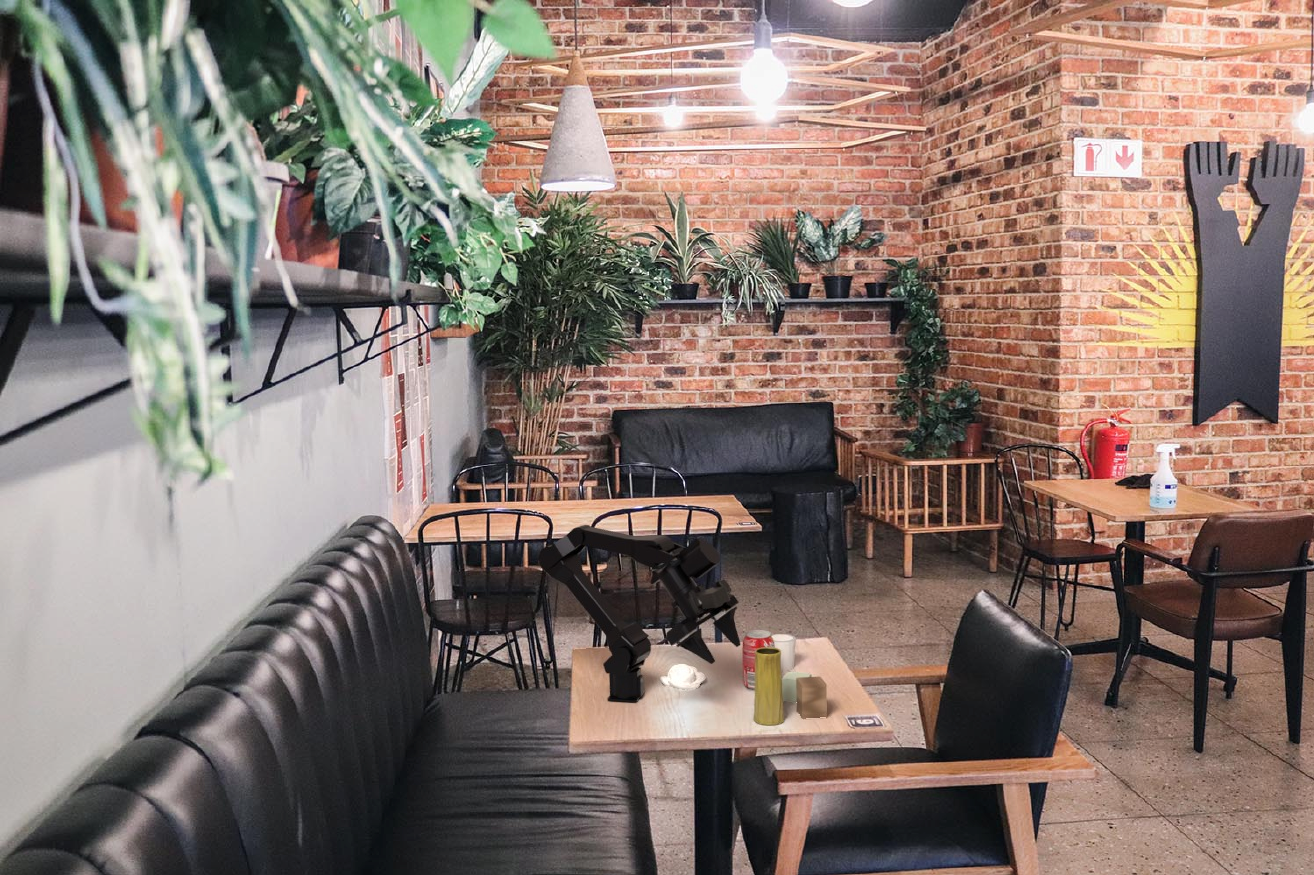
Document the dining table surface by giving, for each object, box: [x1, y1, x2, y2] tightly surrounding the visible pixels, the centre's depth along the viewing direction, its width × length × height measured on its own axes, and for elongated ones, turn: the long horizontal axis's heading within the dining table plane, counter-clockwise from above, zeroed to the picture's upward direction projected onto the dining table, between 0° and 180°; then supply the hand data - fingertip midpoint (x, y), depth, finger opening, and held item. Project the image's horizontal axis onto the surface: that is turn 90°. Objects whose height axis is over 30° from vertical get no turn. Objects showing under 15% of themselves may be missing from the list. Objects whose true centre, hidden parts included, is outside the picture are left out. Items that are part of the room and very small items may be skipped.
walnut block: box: [796, 676, 828, 720], centre depth 217 cm, size 5×5×7 cm
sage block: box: [782, 670, 813, 704], centre depth 227 cm, size 5×5×5 cm
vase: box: [753, 647, 785, 726], centre depth 214 cm, size 6×6×14 cm
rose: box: [659, 663, 706, 691], centre depth 238 cm, size 10×4×10 cm
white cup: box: [771, 633, 797, 672], centre depth 248 cm, size 7×7×7 cm
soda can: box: [741, 629, 775, 691], centre depth 234 cm, size 7×7×12 cm
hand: (726, 654), depth 217 cm, fingers open, 9 cm apart
